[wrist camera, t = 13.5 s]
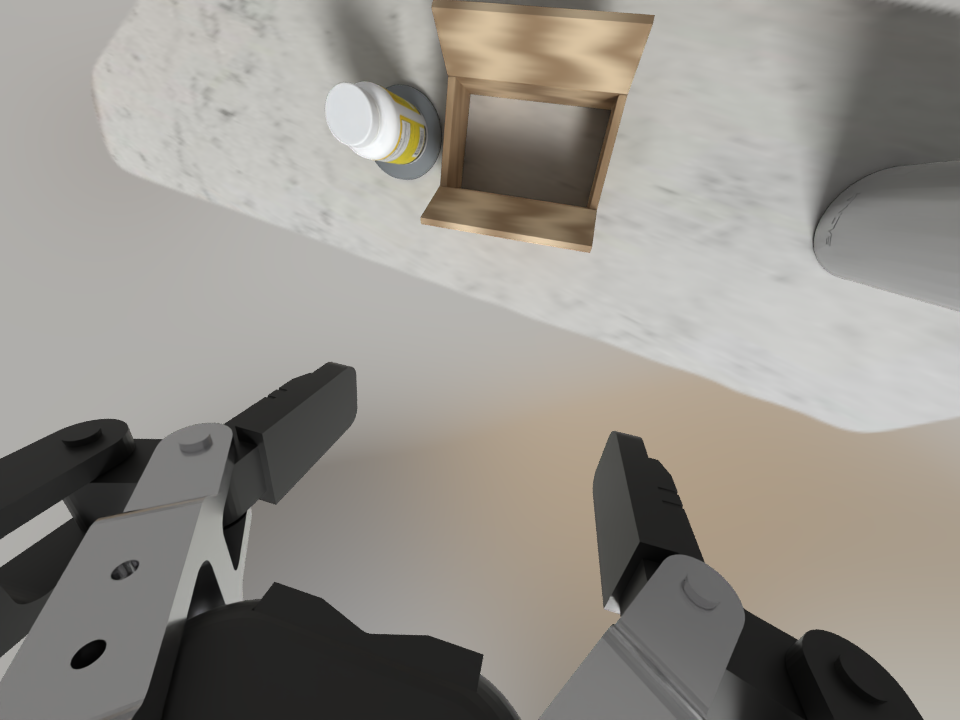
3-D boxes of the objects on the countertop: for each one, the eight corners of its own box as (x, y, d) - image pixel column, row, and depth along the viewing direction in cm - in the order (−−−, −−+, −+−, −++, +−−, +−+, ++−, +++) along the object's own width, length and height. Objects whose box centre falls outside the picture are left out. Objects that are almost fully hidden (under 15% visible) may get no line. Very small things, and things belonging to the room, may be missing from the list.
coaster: (445, 91, 32) (443, 89, 32) (438, 184, 36) (436, 184, 36) (367, 82, 34) (364, 80, 33) (368, 174, 37) (365, 173, 37)
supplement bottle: (370, 115, 34) (303, 87, 26) (417, 91, 32) (362, 53, 24) (391, 173, 36) (335, 166, 27) (436, 154, 34) (392, 140, 26)
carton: (629, 66, 29) (655, 12, 21) (584, 240, 35) (590, 253, 27) (468, 51, 31) (432, -4, 22) (452, 218, 37) (420, 224, 29)
